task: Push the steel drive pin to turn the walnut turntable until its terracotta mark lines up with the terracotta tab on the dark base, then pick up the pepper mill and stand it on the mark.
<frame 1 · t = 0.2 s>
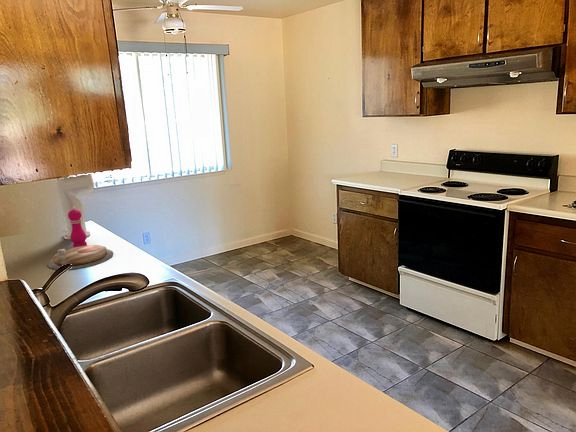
hand: (76, 172, 208), 37 cm above the countertop, tool pointing down, fingers open, 9 cm apart
pepper mill: (80, 246, 226), on the countertop
turntable: (79, 250, 205), point 4 cm above the countertop, hinge at 0.0°
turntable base: (81, 259, 206), on the countertop
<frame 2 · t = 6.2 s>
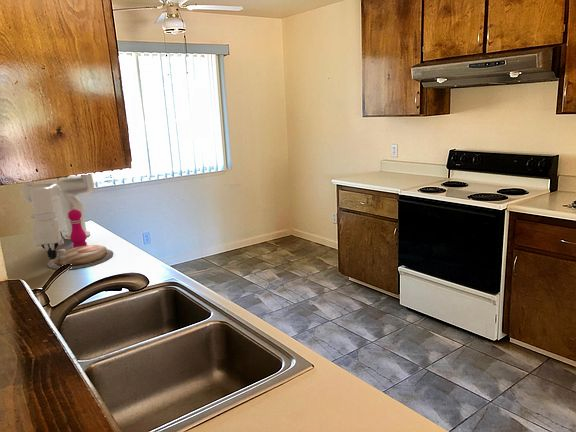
hand: (53, 258, 196), 4 cm above the countertop, tool pointing down, fingers closed
turntable: (79, 250, 205), point 4 cm above the countertop, hinge at 0.7°, touching gripper
everything else where it was.
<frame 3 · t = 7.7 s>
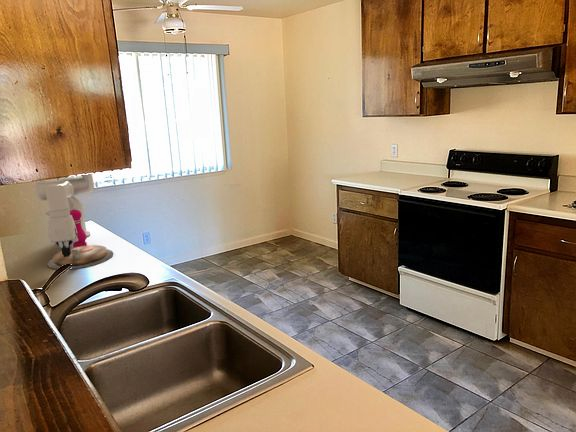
hand: (67, 255, 195), 5 cm above the countertop, tool pointing down, fingers closed
turntable: (79, 250, 205), point 4 cm above the countertop, hinge at 37.7°, touching gripper
everything else where it was.
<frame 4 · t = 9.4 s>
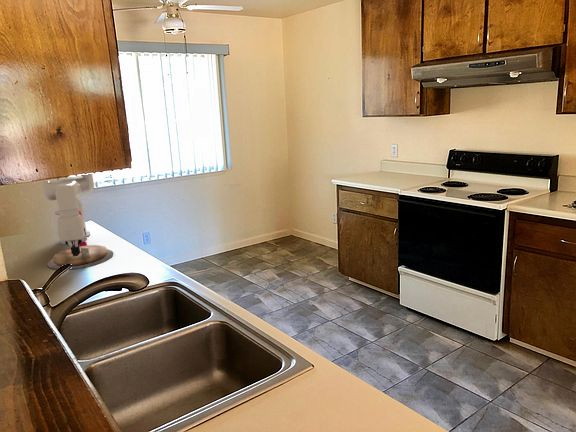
hand: (76, 255, 196), 5 cm above the countertop, tool pointing down, fingers closed
turntable: (79, 250, 205), point 4 cm above the countertop, hinge at 59.5°, touching gripper
everything else where it was.
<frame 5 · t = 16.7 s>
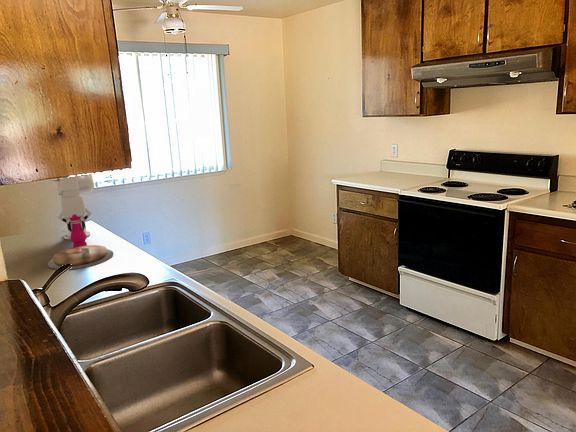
hand: (77, 229, 224), 8 cm above the countertop, tool pointing down, fingers closed on pepper mill, 5 cm apart
pepper mill: (80, 246, 226), on the countertop, touching gripper
turntable: (79, 250, 205), point 4 cm above the countertop, hinge at 60.2°
when the fingers open (13 cm above the countertop, at t = 23.6 s): pepper mill drops 1 cm, resting on turntable.
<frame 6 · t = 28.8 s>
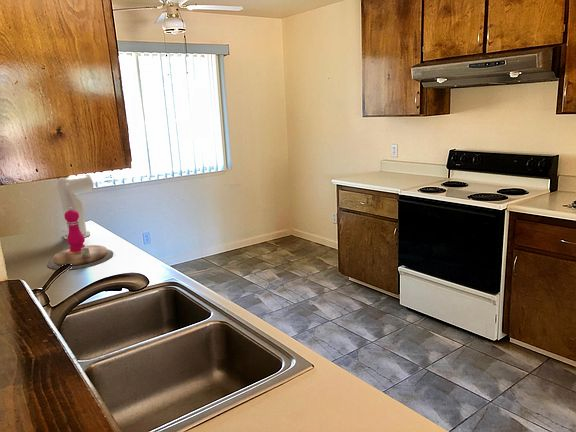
hand: (87, 170, 220), 36 cm above the countertop, tool pointing down, fingers open, 9 cm apart
pepper mill: (77, 250, 210), point 3 cm above the countertop, touching turntable
turntable: (79, 250, 205), point 4 cm above the countertop, hinge at 60.2°, touching pepper mill
at the end: turntable at +60° (first picture: +0°); pepper mill 0.3 cm from the target spot, point 2.9 cm above the countertop; pepper mill tilted 0° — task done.
